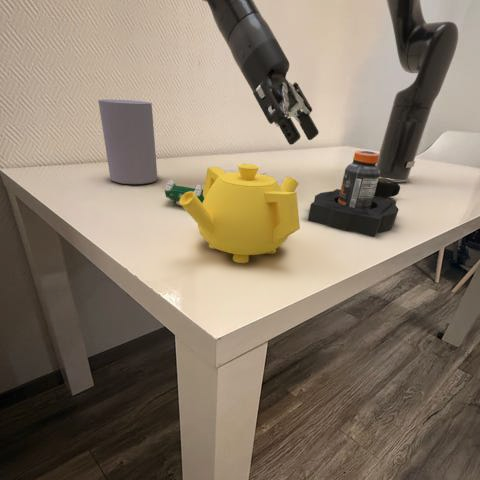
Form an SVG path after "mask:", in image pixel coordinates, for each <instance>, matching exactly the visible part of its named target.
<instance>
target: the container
mask: <svg viewBox="0 0 480 480" xmlns="http://www.w3.org/2000/svg"><path fill="white" fill-rule="evenodd" d="M97 101H98V108H99V114H100V121H101V127H102V134H103V139H104V140H103V141H104V146H105V147H104V148H105V153H106V158H107V159H106V160H107V164H108V172H109V178H110V180H111V181H112V182H115V183H117V184H120V185H128V186H142V185H143V186H144V185H150V184H153V183H155V182H156V181H157V180H158V168H157V154H156V142H155V141H156V140H155V129H154V118H153V117H154V115H153V103H152V102H150V101H142V100H129V99H110V98H109V99H98V100H97Z"/></svg>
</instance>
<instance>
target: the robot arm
mask: <svg viewBox="0 0 480 480" xmlns="http://www.w3.org/2000/svg"><path fill="white" fill-rule="evenodd" d="M202 1H203V2H205V3H207V5H208V7H209V9H210V12H211V14H212V18H213V20H214V22H215V25H216V27H217V30H218V31H219V32H220V34H221V36H222V38H223V39H224V41H225V43H226V45H227V47H228V49H229V50H230V53H231V55H232V58H233V60H234V62H235V63H236V66H237V67H238V69H239V70H240V72H241V74H242V75H243V77H244V79H245V81H246V83H247V84H248V86H249V87H250V89H251V91H252V94H253V96H254V98H255V100H256V102H257V103H258V105H259V107H260V109H261V111H262V113H263V114H264V117H265V118H266V120H267V122H268V123H269V124H270V125H273V123H274V125H275V126H276V127H277V128H279V129H280V130H281V133H282V134H283V137H284V138H285V140H286V142H287V143H288V145H290V146H292V145H295V143H297V142H298V141H299V140H301V133H300V131H299V130H298V128H297V126H296V125H295V123H294V122H293V119H292V118H294V120H296V122H297V123H298V124H299V126H300V128H301V130H302V131H303V133H304V135H305V137H306V138H307V140H308V141H312V140H314V139H315V138H316V137H317V136H318V135H319V132H320V131H319V129H318V128H317V125H316V124H315V122H314V120H313V119H312V117H311V113H312V112H313V107H312V106H311V104H310V102H309V101H308V99H307V98H306V96H305V94H304V93H303V90H302V89H301V87H300V86H299V84H298V83H297V82H296V81H295V82H293V83H291V82H289V81H288V79H287V73H288V72H289V69H290V61H289V59H288V58H287V56H286V54H285V52H284V50H283V48H282V46H281V45H280V43H279V41H278V40H277V37H276V36H275V34H274V32H273V31H272V29H271V27H270V25H269V24H268V22H267V21H266V19H264V17H263V16H262V14H261V12H260V10H259V8H258V7H257V5H256V3H255V1H254V0H202ZM385 1H386V4H387V8H388V12H389V15H390V16H389V17H390V19H391V24H392V28H393V29H392V30H393V35H394V40H395V46H396V51H397V56H398V60H399V64H400V66H401V68H402V70H404V71H405V72H406V73H409V74H416V77H415V79H414V81H413V82H412V83H411V84H410V85H409V86H407V87H406V88H403V89H401V90H399V91H397V92H396V94H395V96H394V99H393V103H392V106H391V110H390V113H389V118H388V120H387V124H386V128H385V132H384V135H383V139H382V142H381V145H380V149H379V152H378V154H379V157H378V162H377V163H376V167H378V168H379V170H380V175H379V178H384V179H387V180H390V181H393V182H395V183H400V184H401V183H407V182H408V181H409V176H410V173H411V170H412V168H414V166H415V163H416V161H415V159H416V156H417V153H418V149H419V147H420V144H421V140H422V138H423V136H424V132H425V130H426V127H427V123H428V119H429V116H430V114H431V111H432V108H433V105H434V103H435V102H436V101H435V100H436V99H437V98H438V96H439V94H440V93H441V90H442V88H443V85H444V82H445V80H446V77H447V74H448V72H449V69H450V67H451V64H452V61H453V59H454V57H455V53H456V51H457V47H458V42H459V28H458V26H457V24H456V23H455V22H453V21H449V20H448V21H447V20H446V21H437V22H427V21H426V20H425V17H424V15H423V10H422V9H423V8H422V4H421V0H385Z"/></svg>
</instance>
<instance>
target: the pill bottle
mask: <svg viewBox="0 0 480 480" xmlns="http://www.w3.org/2000/svg"><path fill="white" fill-rule="evenodd" d="M378 157H379V152H375V151H368V150H357V151H355V152H354V155H353V158H352V162H351V163H349V164H348V165H347V166H346V167H345V168H344V169H345V170H344V174H343V178H342V183H341V186H340V190H341V191H340V195H339V200H338V204H340V205H343V206H347V207H351V208H358V209H370V207H371V204H372V200H373V197H374V193H375V190H376V186H377V182H378V179H379V175H380V170H379V168H378V167H376V164H377V162H378Z"/></svg>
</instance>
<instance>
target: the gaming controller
mask: <svg viewBox="0 0 480 480" xmlns="http://www.w3.org/2000/svg"><path fill="white" fill-rule="evenodd" d="M203 190H204V188H202V186H201V184H199V183H198V184H196V185H195V187H194V188H193V187H189V186H182V185H177V184H176V183H174V180H172V179H170V180H168V182H167V183H166V185H165V187H164V196H165V197H166V198H168V199H169V200H172V201H175V204H176V205H177V206H182V205H181V204H180V202H179V201H180V198H181V197H182V196H183V195H184V194H185V193H186V192H189V191H193V192H194V193H195V195H196V196H197V197H198V199H199V200H200V201H201V203H203V201H204V196H203Z"/></svg>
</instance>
